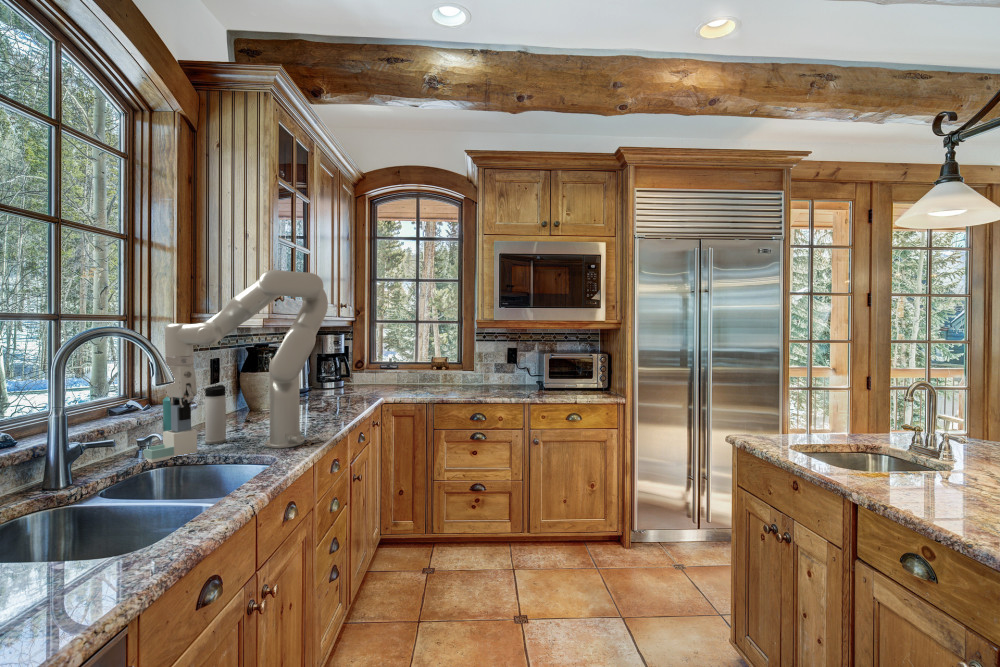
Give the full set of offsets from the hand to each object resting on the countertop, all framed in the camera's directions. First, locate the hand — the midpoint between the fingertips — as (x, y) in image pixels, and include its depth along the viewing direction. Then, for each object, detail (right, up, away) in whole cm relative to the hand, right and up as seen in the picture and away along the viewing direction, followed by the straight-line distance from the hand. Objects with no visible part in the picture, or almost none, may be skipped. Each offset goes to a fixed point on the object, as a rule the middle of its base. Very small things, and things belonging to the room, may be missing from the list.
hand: (181, 418), depth 155 cm
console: (-2, -11, -3) cm, 12 cm away
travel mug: (+2, -11, +15) cm, 19 cm away
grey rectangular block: (0, -4, 0) cm, 4 cm away
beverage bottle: (-12, -11, +15) cm, 23 cm away
